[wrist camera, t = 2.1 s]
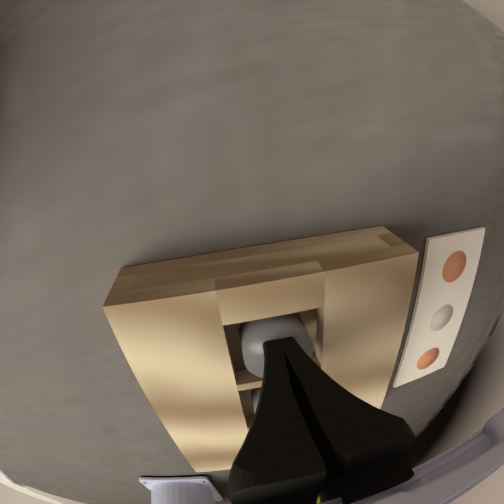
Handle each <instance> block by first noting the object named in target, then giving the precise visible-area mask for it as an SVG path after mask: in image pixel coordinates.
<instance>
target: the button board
mask: <svg viewBox="0 0 504 504" xmlns="http://www.w3.org/2000/svg"><path fill="white" fill-rule="evenodd" d="M418 255H419V252H418V251H417V250H415V249H414V248H412V247H411V246H410V245H408V244H407V243H406V242H404V241H403V240H402V239H400V238H399V237H397V236H396V235H395V234H393V233H392V232H390V231H389V230H388V229H386V228H385V227H383V226H378V227H372V228H365V229H359V230H352V231H346V232H339V233H333V234H327V235H320V236H314V237H308V238H301V239H295V240H289V241H283V242H276V243H270V244H264V245H258V246H251V247H245V248H239V249H233V250H227V251H220V252H214V253H208V254H202V255H196V256H190V257H184V258H178V259H172V260H165V261H159V262H153V263H147V264H141V265H135V266H129V267H123V268H121V269H120V271H119V273H118V276H117V278H116V280H115V282H114V284H113V286H112V288H111V290H110V292H109V294H108V296H107V298H106V301H105V303H104V305H103V309H104V311H105V314H106V316H107V318H108V321H109V323H110V325H111V327H112V330H113V332H114V334H115V336H116V338H117V340H118V343H119V345H120V347H121V349H122V351H123V353H124V355H125V357H126V359H127V361H128V363H129V365H130V367H131V369H132V371H133V373H134V374H135V376H136V378H137V380H138V382H139V384H140V386H141V387H142V389H143V391H144V393H145V394H146V396H147V398H148V400H149V401H150V403H151V405H152V407H153V408H154V410H155V412H156V413H157V415H158V417H159V418H160V420H161V421H162V423H163V425H164V426H165V428H166V429H167V431H168V432H169V434H170V435H171V437H172V439H173V440H174V442H175V443H176V444H177V446H178V447H179V449H180V450H181V452H182V453H183V455H184V456H185V457H186V459H187V460H188V462H189V463H190V464H191V466H192V467H193V469H194V470H195V471H196V472H207V471H218V470H227V469H231V467H232V463H233V461H234V459H235V458H236V456H237V454H238V452H239V450H240V448H241V446H242V444H243V442H244V440H245V438H246V435H247V433H248V431H249V429H250V426H251V423H252V420H253V417H254V409H253V404H252V399H251V392H252V389H253V388H259V387H261V386H262V381H263V378H261V377H258V376H256V375H254V374H252V373H251V372H250V371H248V369H247V368H246V366H245V363H244V358H243V353H242V347H241V341H240V336H239V327H240V323H241V322H247V321H253V320H259V319H264V318H270V317H275V316H280V315H285V314H291V313H296V312H298V313H299V314H300V316H301V318H302V321H303V323H304V325H305V327H306V329H307V332H308V334H309V336H310V338H311V340H312V343H313V353H312V356H311V359H312V360H313V361H314V362H315V363H316V364H317V365H318V366H319V367H320V368H321V369H322V370H323V371H324V372H325V373H326V374H327V375H329V376H330V377H331V378H332V379H333V380H334V381H336V382H337V383H338V384H339V385H341V386H342V387H343V388H345V389H346V390H348V391H349V392H350V393H352V394H353V395H355V396H357V397H358V398H360V399H362V400H363V401H365V402H367V403H369V404H371V405H372V406H374V407H376V408H378V409H380V408H381V405H382V403H383V400H384V397H385V394H386V391H387V388H388V385H389V382H390V379H391V375H392V372H393V369H394V366H395V362H396V359H397V355H398V351H399V348H400V344H401V340H402V336H403V332H404V328H405V324H406V320H407V315H408V311H409V306H410V301H411V296H412V291H413V286H414V280H415V274H416V268H417V262H418Z"/></svg>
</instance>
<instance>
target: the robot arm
mask: <svg viewBox="0 0 504 504" xmlns="http://www.w3.org/2000/svg"><path fill="white" fill-rule="evenodd" d="M263 352H264V372H263V381H262V386H261V392H260V396H259V401H258V404H257V408H256V411H255V414H254V417H253V420H252V423H251V426H250V429H249V431H248V433H247V435H246V438H245V440H244V442H243V444H242V446H241V448H240V450H239V452H238V454H237V456H236V458H235V459H234V461H233V463H232V467H231V471H230V475H229V480H228V494H229V500H230V501H231V503H232V504H317V499H318V496H319V499H320V503H318V504H449V503H451V502H452V501H454V500H455V499H457V498H458V497H460V496H461V495H463V494H464V493H466V492H467V491H469V490H470V489H472V488H473V487H474V486H476V485H477V484H478V483H480V482H481V481H483V480H484V479H485V478H486V477H488V476H489V475H491V474H492V473H493V472H494V471H496V470H497V469H498V468H499V467H501V466H502V465H503V464H504V408H503V409H502V410H501V411H499V412H498V413H497V414H495V415H494V416H493V417H491V418H490V419H489V420H488V421H487V423H486V424H485V425H484V427H483V428H482V429H481V430H479V431H478V432H476V433H475V434H473V435H472V436H470V437H469V438H467V439H466V440H464V441H462V442H461V443H459V444H457V445H456V446H454V447H452V448H451V449H449V450H447V451H446V452H444V453H442V454H440V455H438V456H437V457H435V458H433V459H431V460H429V461H427V462H426V463H423V464H421V465H419V466H418V467H415V468H413V469H412V468H411V466H410V464H409V462H408V461H409V459H410V458H409V456H408V454H407V451H408V450H409V448H410V447H411V445H412V444H413V442H414V439H415V435H414V433H413V431H412V429H411V428H410V427H409V425H408V424H407V423H406V422H405V420H404V419H403V418H400V417H398V416H395V415H392V414H390V413H387V412H385V411H383V410H380V409H378V408H376V407H374V406H372V405H371V404H369V403H367V402H365V401H363V400H362V399H360V398H358V397H357V396H355V395H353V394H352V393H350V392H349V391H348V390H346V389H345V388H343V387H342V386H341V385H339V384H338V383H337V382H336V381H334V380H333V379H332V378H331V377H330V376H329V375H327V374H326V373H325V372H324V371H323V370H322V369H321V368H320V367H319V366H318V365H317V364H316V363H315V362H314V361H313V360H312V359H311V358H310V357H309V356H308V354H307V353H306V352H305V351H304V350H303V349H302V347H301V346H300V345H299V344H298V342H297V341H296V340H295V338H294V337H292V336H291V337H286V338H281V339H276V340H270V341H265V342H264V343H263ZM139 481H140V482H141V483H142V484H143V485H144V486H146V487H147V488H148V489H149V490H150V491H151V504H216V501H222V500H223V498H222V496H221V495H220V494H219V492H218V491H217V490H216V488H215V487H214V486H213V484H212V483H211V481H210V480H209V479H208V477H206V476H196V477H171V478H150V477H140V478H139ZM395 493H396V494H395ZM390 495H391V496H390ZM383 498H384V499H383ZM378 500H379V501H378ZM373 502H374V503H373Z"/></svg>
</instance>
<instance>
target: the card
mask: <svg viewBox="0 0 504 504" xmlns="http://www.w3.org/2000/svg"><path fill="white" fill-rule="evenodd" d="M484 234H485V227H478V228H473V229H468V230H463V231H458V232H453V233H448V234H443V235H438V236H433V237H428V238H426V245H425V252H424V259H423V265H422V271H421V277H420V282H419V288H418V293H417V297H416V302H415V307H414V311H413V316H412V320H411V324H410V328H409V332H408V336H407V339H406V343H405V347H404V350H403V354H402V357H401V361H400V364H399V367H398V370H397V373H396V376H395V380H394V383H393V385H392V386H393V387H394V388H395V387H398V386H400V385H403V384H405V383H408V382H410V381H413V380H415V379H418V378H420V377H422V376H425V375H427V374H429V373H431V372H434V371H436V370H438V369H440V368H442V367H444V366H445V364H446V362H447V359H448V357H449V354H450V352H451V349H452V347H453V344H454V342H455V339H456V336H457V334H458V331H459V328H460V325H461V322H462V319H463V316H464V313H465V310H466V307H467V304H468V301H469V297H470V294H471V290H472V287H473V283H474V279H475V275H476V271H477V267H478V263H479V259H480V254H481V249H482V244H483V239H484Z"/></svg>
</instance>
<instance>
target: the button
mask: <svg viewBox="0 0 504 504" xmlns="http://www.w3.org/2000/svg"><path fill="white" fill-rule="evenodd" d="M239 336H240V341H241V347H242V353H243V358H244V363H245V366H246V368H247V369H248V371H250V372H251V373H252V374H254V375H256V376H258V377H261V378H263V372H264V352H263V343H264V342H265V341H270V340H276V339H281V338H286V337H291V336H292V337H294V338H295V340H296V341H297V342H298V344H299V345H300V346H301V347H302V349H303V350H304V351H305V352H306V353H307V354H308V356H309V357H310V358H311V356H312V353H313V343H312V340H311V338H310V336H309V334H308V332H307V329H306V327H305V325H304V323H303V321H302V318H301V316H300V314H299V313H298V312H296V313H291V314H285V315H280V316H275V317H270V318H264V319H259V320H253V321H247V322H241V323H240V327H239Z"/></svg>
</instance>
